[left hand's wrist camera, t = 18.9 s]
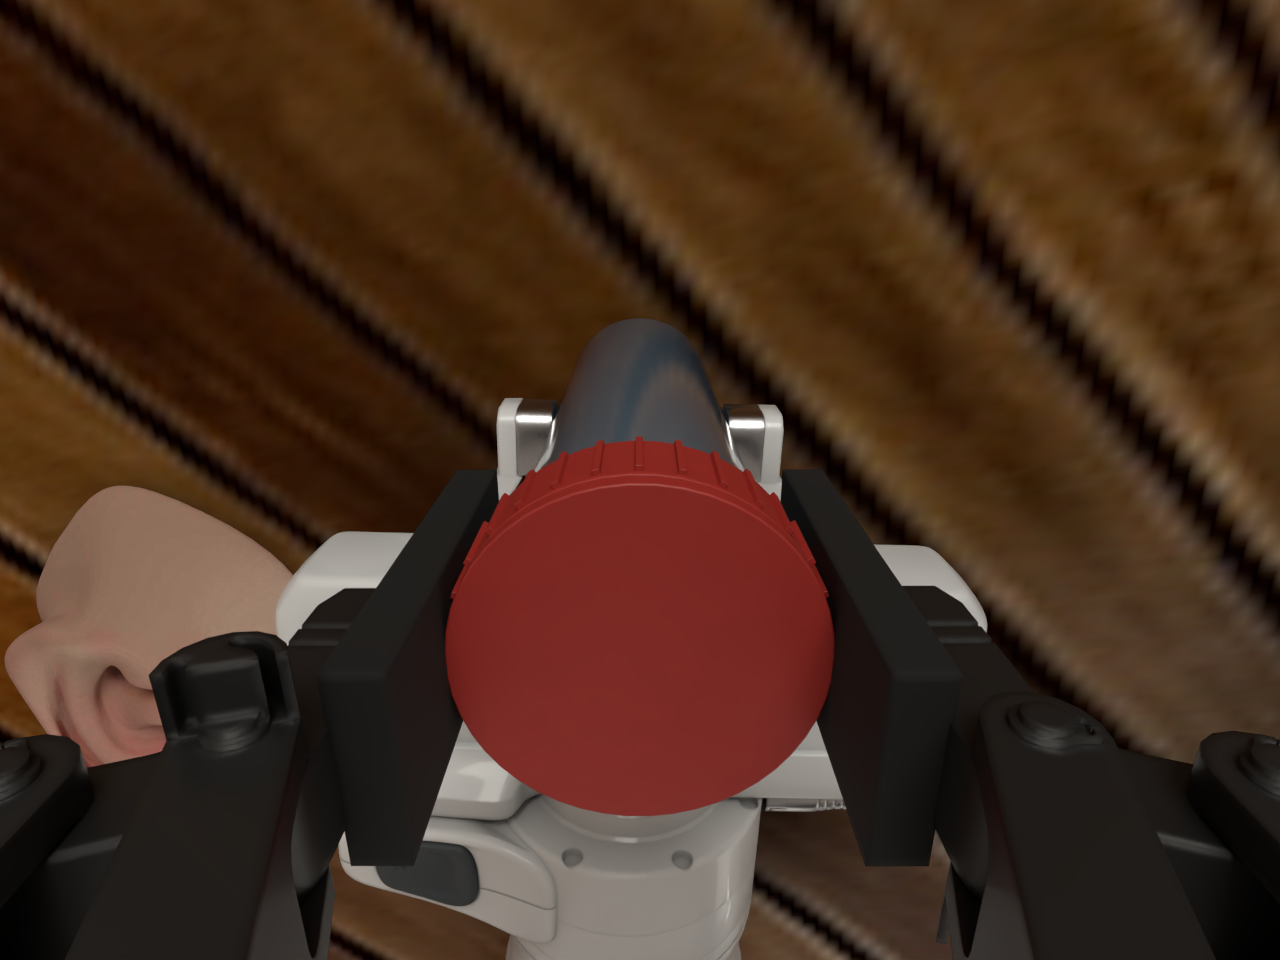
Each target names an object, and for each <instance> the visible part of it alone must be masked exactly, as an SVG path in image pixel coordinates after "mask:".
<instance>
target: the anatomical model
mask: <svg viewBox="0 0 1280 960" xmlns="http://www.w3.org/2000/svg"><path fill="white" fill-rule="evenodd" d="M292 577H293V574H292V573H291V572H290V571H289V570H288V569H287V568H286V566H285V565H284V564H283V563H282V562H280V561H279V560H278V559H277V558H276V557H275V556H274V555H272V554H271V553H270V552H269V551H267V550H266V549H265V548H263V547H262V546H261V545H259V544H258V543H256V542H255V541H254V540H252V539H251V538H249V537H248V536H246V535H244V534H243V533H241V532H239V531H238V530H236V529H235V528H233V527H231V526H230V525H228V524H226V523H224V522H222V521H220V520H218V519H216V518H214V517H212V516H210V515H208V514H206V513H204V512H202V511H200V510H198V509H196V508H193V507H191V506H189V505H187V504H185V503H182V502H180V501H178V500H175V499H173V498H170V497H167V496H165V495H162V494H159V493H157V492H154V491H151V490H147V489H143V488H139V487H133V486H113V487H109V488H106V489H103V490H102V491H100V492H98V493H97V494H95V495H94V496H92V497H91V498H90V499H89V500H88V501H87V502H86V503H85V504H84V505H83V506H82V507H81V508H80V509H79V510H78V512H77V513H76V514H75V516H74V517H73V519H72V520H71V522H70V523H69V524H68V526H67V527H66V529H65V530H64V532H63V533H62V535H61V536H60V537H59V539H58V540H57V542H56V543H55V545H54V547H53V549H52V551H51V553H50V555H49V557H48V559H47V562H46V564H45V567H44V569H43V572H42V574H41V577H40V580H39V583H38V586H37V594H36V601H37V608H38V612H39V615H40V617H41V620H42V623H40V624H38V625H36V626H35V627H33V628H31V629H29V630H28V631H26V632H25V633H23V634H22V635H20V636H19V637H18V638H17V639H15V640H14V641H13V642H12V644H11V645H10V646H9V648H8V650H7V652H6V655H5V666H6V670H7V672H8V674H9V676H10V678H11V680H12V681H13V683H14V684H15V686H16V688H17V689H18V691H19V692H20V694H21V696H22V697H23V699H24V700H25V701H26V703H27V704H28V706H29V707H30V709H31V710H32V712H33V713H34V715H35V716H36V718H37V719H38V721H39V722H40V724H41V725H42V727H43V728H44V730H45V731H46V733H47V734H49V735H57V736H65V737H69V738H70V739H72V740H73V741H74V742H76V743H77V744H78V745H80V748H81V751H82V754H83V757H84V760H85V763H86V766H87V768H88V767H93V766H98V765H103V764H107V763H112V762H117V761H122V760H127V759H131V758H136V757H141V756H146V755H150V754H154V753H157V752H161V751H162V749H163V747H164V745H165V743H166V737H165V734H164V730H163V726H162V723H161V719H160V715H159V712H158V708H157V705H156V701H155V697H154V694H153V690H152V687H151V683H150V679H149V676H148V675H149V674H150V673H151V672H152V671H153V670H154V669H155V667H156V666H157V665H158V664H159V663H160V662H161V661H162V660H164V659H165V658H167V657H168V656H170V655H172V654H173V653H175V652H176V651H178V650H180V649H181V648H183V647H186V646H188V645H191V644H193V643H196V642H198V641H201V640H203V639H206V638H209V637H214V636H218V635H223V634H227V633H232V632H247V631H259V632H264V633H269V634H274V635H277V634H276V624H275V612H276V606H277V602H278V600H279V597H280V595H281V593H282V591H283V590H284V588H285V586H286V585H287V583H288V582H289V581H290V579H291V578H292Z"/></svg>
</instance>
